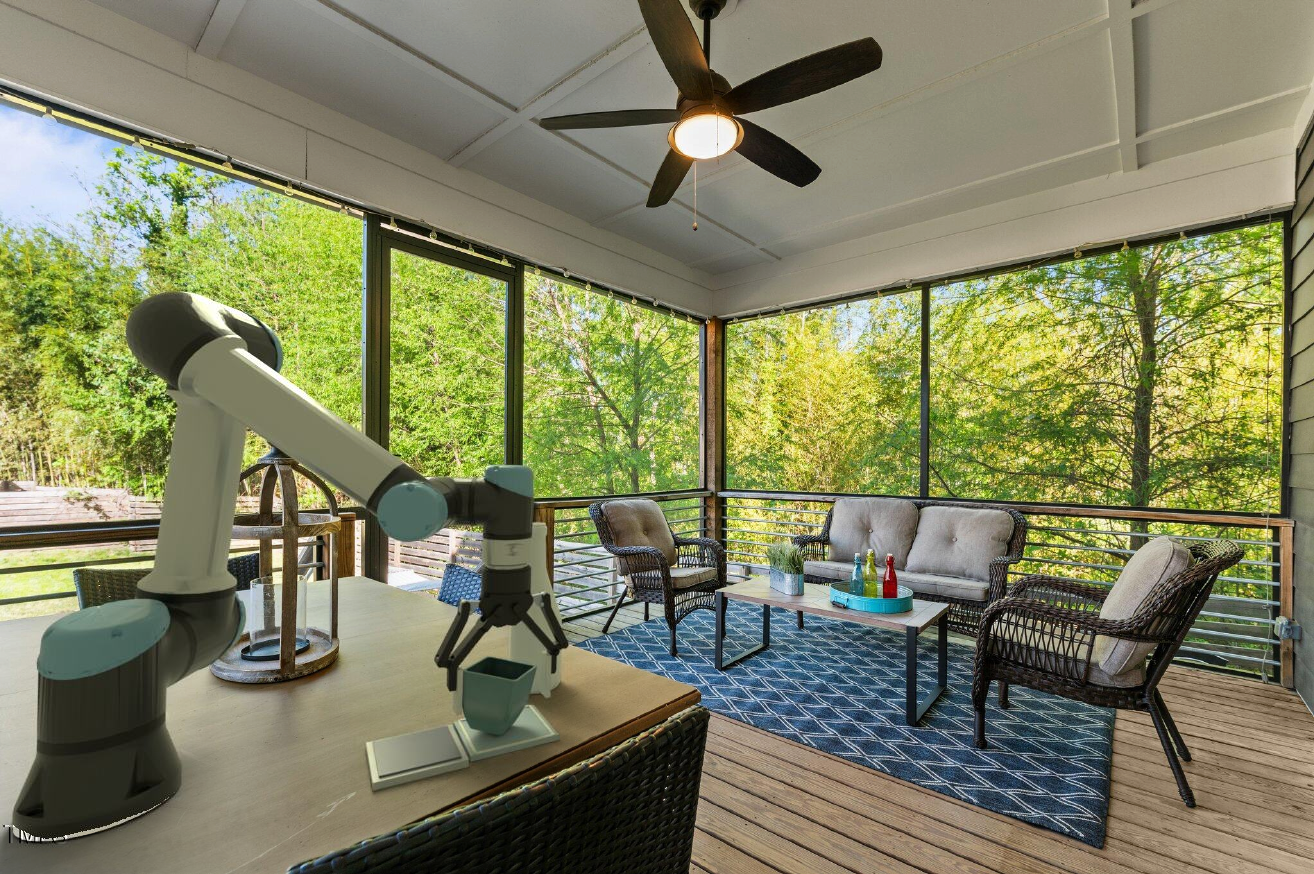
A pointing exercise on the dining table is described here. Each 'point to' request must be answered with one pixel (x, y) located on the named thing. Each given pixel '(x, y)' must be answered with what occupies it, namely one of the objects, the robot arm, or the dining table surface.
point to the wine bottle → (536, 615)
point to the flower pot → (495, 693)
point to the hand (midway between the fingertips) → (502, 702)
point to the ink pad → (414, 756)
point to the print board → (506, 735)
